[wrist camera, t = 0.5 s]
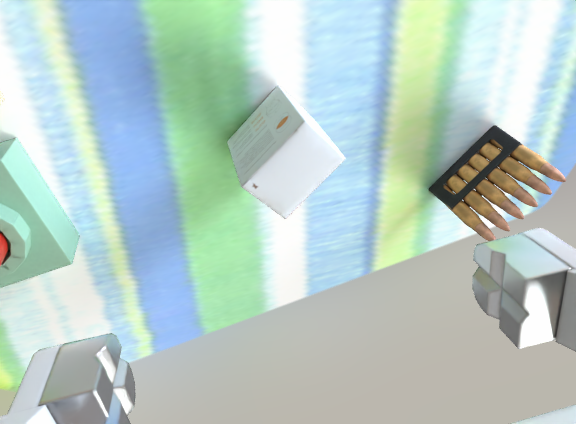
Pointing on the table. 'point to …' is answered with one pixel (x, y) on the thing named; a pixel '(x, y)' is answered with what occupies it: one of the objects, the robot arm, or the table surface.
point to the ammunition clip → (492, 181)
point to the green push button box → (30, 219)
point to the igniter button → (3, 247)
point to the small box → (282, 153)
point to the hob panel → (1, 97)
